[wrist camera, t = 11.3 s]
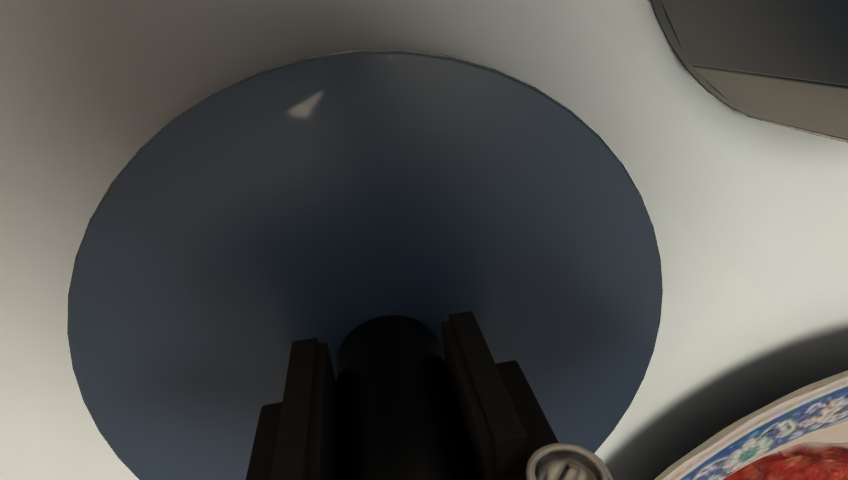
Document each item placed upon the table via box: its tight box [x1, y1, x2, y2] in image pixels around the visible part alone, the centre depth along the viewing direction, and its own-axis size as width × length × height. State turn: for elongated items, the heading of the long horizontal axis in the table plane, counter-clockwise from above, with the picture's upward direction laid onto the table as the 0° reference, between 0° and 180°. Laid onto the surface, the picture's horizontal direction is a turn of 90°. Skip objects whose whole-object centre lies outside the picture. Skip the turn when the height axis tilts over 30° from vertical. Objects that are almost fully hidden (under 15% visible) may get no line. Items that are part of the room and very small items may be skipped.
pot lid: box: [68, 50, 663, 480], centre depth 11 cm, size 14×14×6 cm
